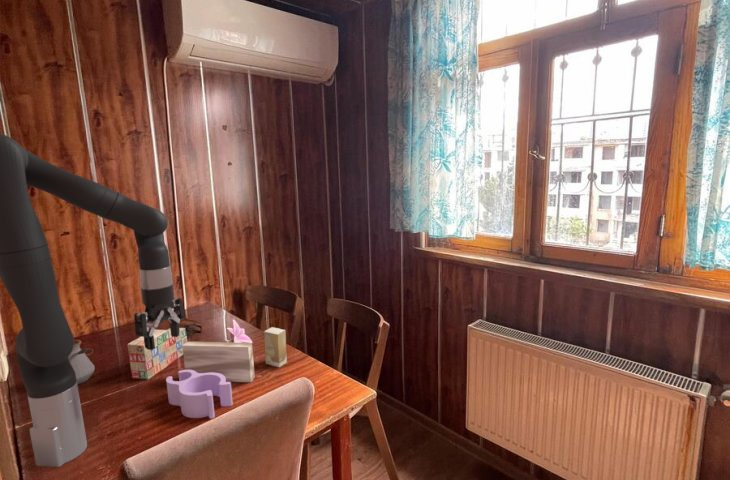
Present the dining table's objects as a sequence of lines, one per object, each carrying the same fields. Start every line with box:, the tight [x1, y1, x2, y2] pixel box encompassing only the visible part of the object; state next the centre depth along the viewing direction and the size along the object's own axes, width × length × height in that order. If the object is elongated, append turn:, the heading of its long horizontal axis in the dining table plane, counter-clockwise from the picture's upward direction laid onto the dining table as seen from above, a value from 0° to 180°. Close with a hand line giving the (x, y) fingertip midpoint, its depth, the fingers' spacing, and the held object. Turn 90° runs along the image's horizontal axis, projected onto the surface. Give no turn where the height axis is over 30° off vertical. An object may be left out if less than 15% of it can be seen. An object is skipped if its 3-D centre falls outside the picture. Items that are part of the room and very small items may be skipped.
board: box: [182, 340, 256, 383], centre depth 129 cm, size 3×22×12 cm, turn 84°
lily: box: [226, 319, 254, 344], centre depth 153 cm, size 12×12×10 cm
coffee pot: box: [68, 339, 95, 386], centre depth 128 cm, size 21×12×15 cm, turn 55°
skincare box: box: [263, 326, 288, 368], centre depth 139 cm, size 6×4×12 cm
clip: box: [165, 369, 234, 420], centre depth 117 cm, size 20×12×7 cm, turn 62°
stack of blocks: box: [127, 327, 188, 380], centre depth 141 cm, size 21×6×12 cm, turn 168°
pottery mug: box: [179, 317, 203, 338], centre depth 166 cm, size 12×10×8 cm
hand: (163, 342), depth 107 cm, fingers open, 8 cm apart
